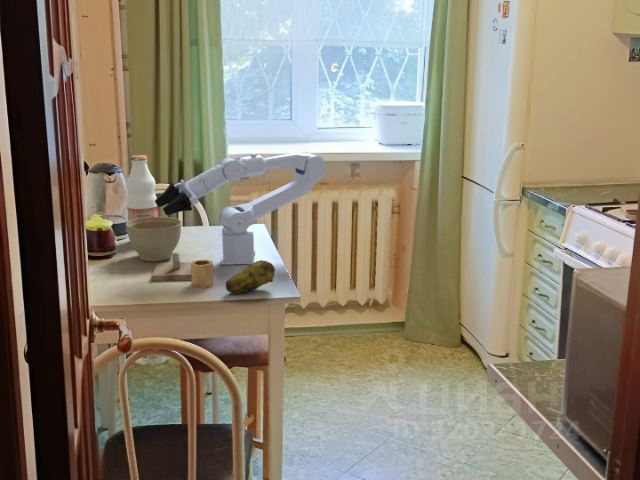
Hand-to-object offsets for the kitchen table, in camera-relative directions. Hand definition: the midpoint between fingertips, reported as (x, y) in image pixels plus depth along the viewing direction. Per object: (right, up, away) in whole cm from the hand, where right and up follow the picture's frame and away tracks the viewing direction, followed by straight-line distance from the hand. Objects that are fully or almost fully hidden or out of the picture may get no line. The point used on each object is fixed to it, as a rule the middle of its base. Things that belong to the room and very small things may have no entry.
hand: (160, 208), depth 219 cm
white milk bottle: (-12, -10, +35) cm, 38 cm away
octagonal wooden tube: (+13, -21, -7) cm, 26 cm away
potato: (+26, -23, -13) cm, 37 cm away
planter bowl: (-5, -14, +18) cm, 23 cm away
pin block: (+4, -18, +2) cm, 19 cm away
